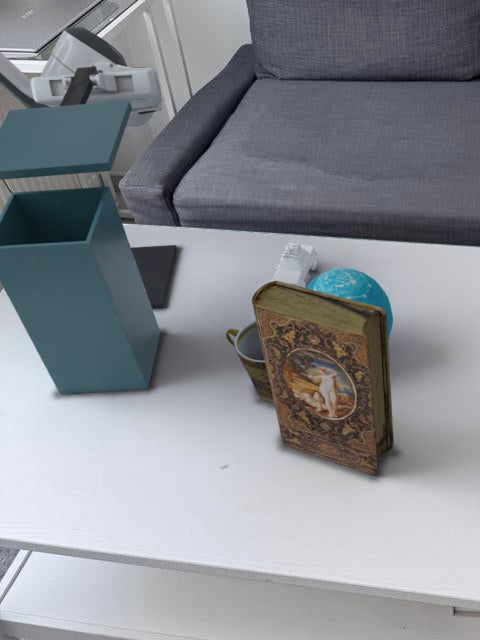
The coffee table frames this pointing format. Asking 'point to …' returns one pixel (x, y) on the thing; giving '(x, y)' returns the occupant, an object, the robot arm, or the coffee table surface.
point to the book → (327, 373)
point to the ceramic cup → (252, 358)
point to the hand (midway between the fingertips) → (81, 81)
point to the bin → (78, 289)
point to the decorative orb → (353, 289)
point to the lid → (63, 134)
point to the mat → (155, 270)
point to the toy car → (296, 264)
